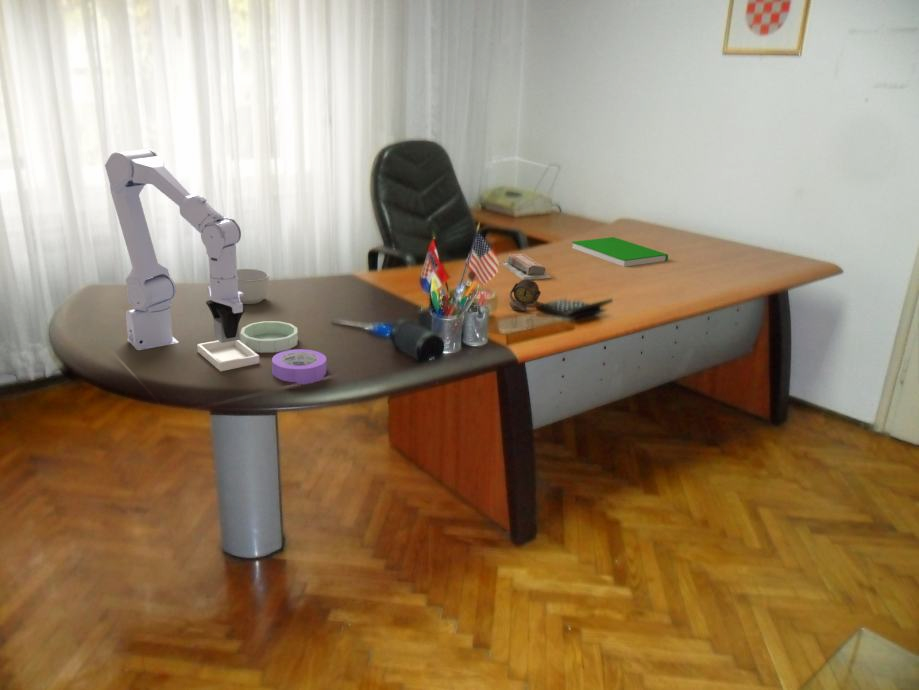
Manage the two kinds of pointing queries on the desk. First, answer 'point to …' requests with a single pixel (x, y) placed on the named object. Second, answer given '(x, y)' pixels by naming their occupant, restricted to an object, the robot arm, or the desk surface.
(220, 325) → the grey cube
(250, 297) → the teacup
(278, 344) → the bowl
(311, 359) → the masking tape
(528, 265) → the packaged product
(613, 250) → the book
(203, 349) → the parts tray
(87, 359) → the desk surface
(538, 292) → the brown desk clock
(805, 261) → the desk surface
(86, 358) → the desk surface
